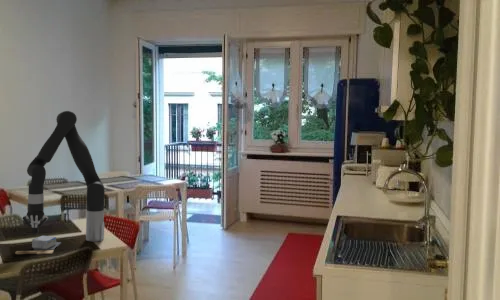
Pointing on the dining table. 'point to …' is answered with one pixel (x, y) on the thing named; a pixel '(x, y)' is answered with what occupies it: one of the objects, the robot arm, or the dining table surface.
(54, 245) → the rubber mat
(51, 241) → the medicine box
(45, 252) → the wooden turner
